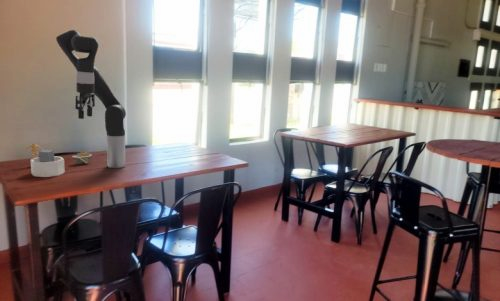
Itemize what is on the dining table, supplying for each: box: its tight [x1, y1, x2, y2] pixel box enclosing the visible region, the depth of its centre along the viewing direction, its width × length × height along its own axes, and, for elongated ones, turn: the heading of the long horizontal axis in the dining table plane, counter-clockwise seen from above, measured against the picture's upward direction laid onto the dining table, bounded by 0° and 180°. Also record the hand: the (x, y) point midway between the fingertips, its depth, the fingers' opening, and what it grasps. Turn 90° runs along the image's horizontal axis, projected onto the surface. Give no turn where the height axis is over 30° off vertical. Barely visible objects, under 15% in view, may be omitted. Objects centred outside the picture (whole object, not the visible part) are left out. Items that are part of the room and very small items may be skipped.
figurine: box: [25, 142, 44, 159], centre depth 199 cm, size 8×6×12 cm
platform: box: [72, 151, 93, 165], centre depth 209 cm, size 12×18×7 cm, turn 133°
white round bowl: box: [30, 155, 66, 178], centre depth 188 cm, size 14×14×7 cm
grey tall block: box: [38, 149, 55, 162], centre depth 187 cm, size 5×5×10 cm
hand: (85, 117), depth 177 cm, fingers open, 8 cm apart
